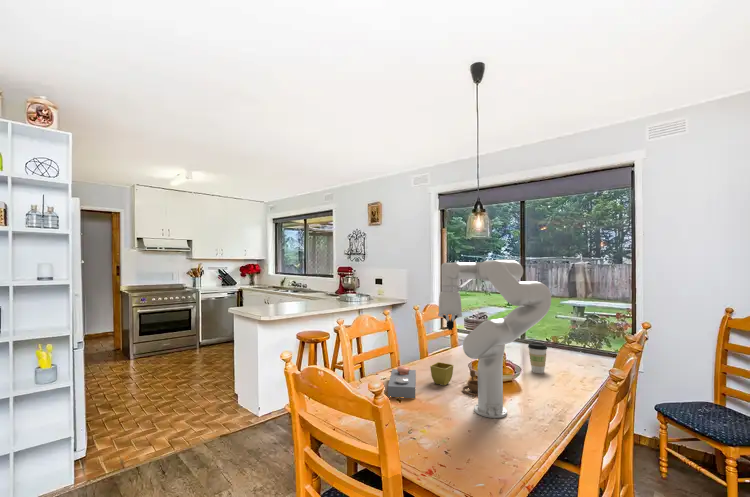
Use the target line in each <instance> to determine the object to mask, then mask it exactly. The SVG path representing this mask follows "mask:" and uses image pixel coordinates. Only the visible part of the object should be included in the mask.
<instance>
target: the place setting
mask: <svg viewBox="0 0 750 497" xmlns="http://www.w3.org/2000/svg"><path fill="white" fill-rule="evenodd" d="M469 376H470V377H471V380H469V381H468V382H467V385H463V387H462V392H463V393H464V394H465V393H466V395H467V394H468V396H470V395H472V396H471V397H476V396H478V380H476V379H475V380H474V377H475V376H476V371H475V370H470V371H469ZM468 388H469V389H468ZM465 389H466V390H469V391H470V392H468V391H466V390H465Z"/></svg>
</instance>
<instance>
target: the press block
mask: <svg viewBox="0 0 750 497" xmlns="http://www.w3.org/2000/svg"><path fill="white" fill-rule="evenodd" d="M416 374H417V372H416V369H409V372H407V375H399V372H398V371H397V368H395V369H394V368H392V369H391V373H390V377H389V381H388V385H387V397H388V396H389V397H390V396H391V397H404V398H415V399H416V389H415V388H416V386H417V385H416V383H417V382H416V381H417V379H416V378H417V376H416ZM397 377H406V378H408V379H409V383H407V384H398V383H396V378H397ZM404 398H403V399H404Z"/></svg>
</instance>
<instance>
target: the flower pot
mask: <svg viewBox="0 0 750 497" xmlns="http://www.w3.org/2000/svg"><path fill="white" fill-rule="evenodd" d="M429 367H430V374H431V378H432V381H433V383H434V384H435V383H436V385H439V384H441V385H440V386H443V385H445V386H446V385H448V384H450V382H451V380H452V377H453V373H454V364H450V363H444V362H439V361H438V362H436V363H434V364H431V365H430V366H429Z"/></svg>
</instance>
